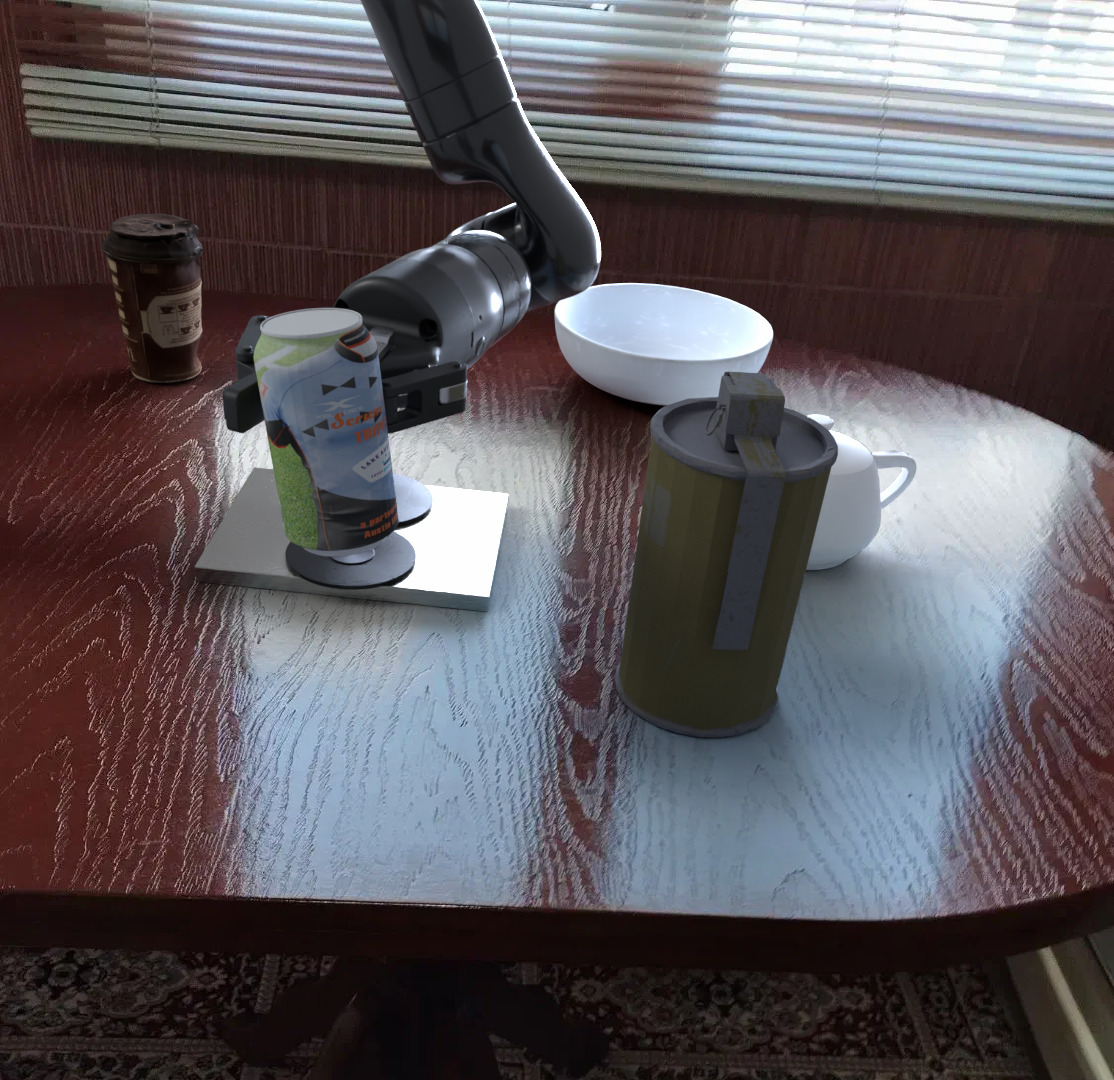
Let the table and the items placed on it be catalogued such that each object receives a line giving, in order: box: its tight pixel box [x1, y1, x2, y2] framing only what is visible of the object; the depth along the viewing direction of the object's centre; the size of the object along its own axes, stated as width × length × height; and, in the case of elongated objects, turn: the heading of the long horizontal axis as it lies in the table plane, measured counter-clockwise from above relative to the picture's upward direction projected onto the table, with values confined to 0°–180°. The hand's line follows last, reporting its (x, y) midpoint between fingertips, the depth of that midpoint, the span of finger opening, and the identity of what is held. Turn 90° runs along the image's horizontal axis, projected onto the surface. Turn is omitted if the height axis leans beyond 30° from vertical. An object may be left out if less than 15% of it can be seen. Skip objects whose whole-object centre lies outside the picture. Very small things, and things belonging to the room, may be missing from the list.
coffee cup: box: [101, 213, 204, 384], centre depth 107 cm, size 9×8×13 cm
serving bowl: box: [554, 282, 774, 406], centre depth 116 cm, size 21×21×7 cm
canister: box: [614, 371, 838, 739], centre depth 71 cm, size 11×10×20 cm
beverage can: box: [254, 307, 399, 556], centre depth 61 cm, size 6×7×12 cm
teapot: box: [806, 413, 917, 571], centre depth 91 cm, size 20×12×10 cm, turn 108°
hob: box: [194, 467, 510, 613], centre depth 88 cm, size 20×18×2 cm
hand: (265, 421), depth 59 cm, fingers closed on beverage can, 3 cm apart
